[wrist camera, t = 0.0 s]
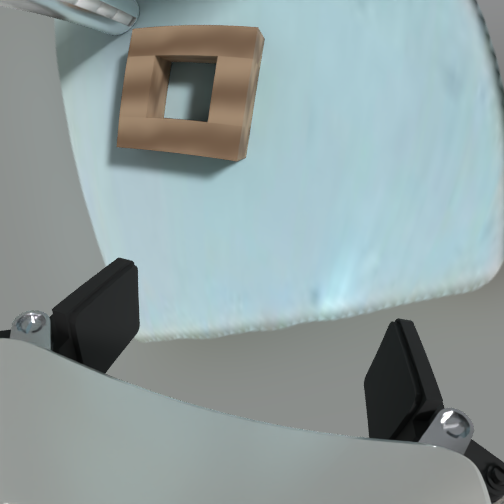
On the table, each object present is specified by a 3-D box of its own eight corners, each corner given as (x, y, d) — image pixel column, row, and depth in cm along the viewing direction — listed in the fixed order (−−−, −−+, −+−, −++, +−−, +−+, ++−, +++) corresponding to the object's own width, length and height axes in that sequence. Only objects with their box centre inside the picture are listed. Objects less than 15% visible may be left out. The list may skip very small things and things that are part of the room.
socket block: (150, 36, 35) (133, 28, 30) (264, 39, 33) (258, 27, 29) (135, 144, 41) (116, 147, 37) (245, 157, 40) (237, 161, 35)
